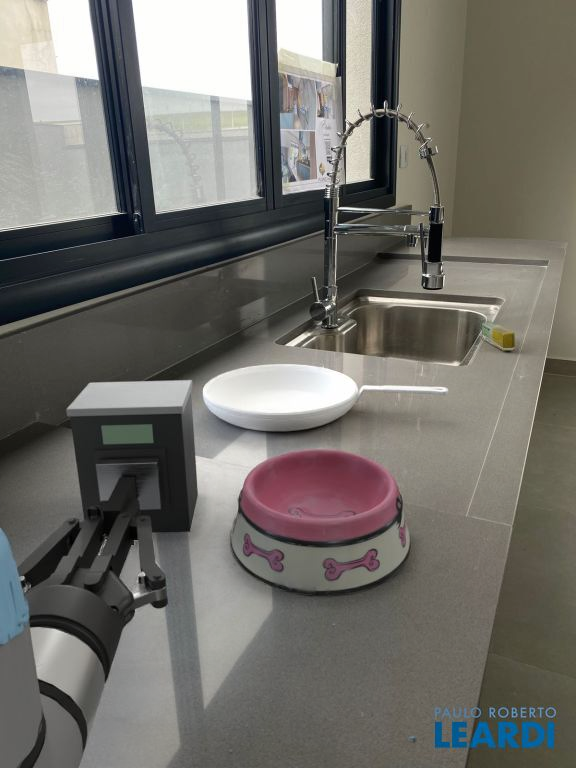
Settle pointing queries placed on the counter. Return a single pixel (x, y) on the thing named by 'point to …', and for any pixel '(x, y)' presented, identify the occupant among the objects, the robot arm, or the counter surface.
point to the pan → (288, 396)
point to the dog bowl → (320, 523)
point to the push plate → (139, 468)
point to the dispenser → (139, 442)
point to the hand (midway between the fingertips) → (128, 489)
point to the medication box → (498, 335)
